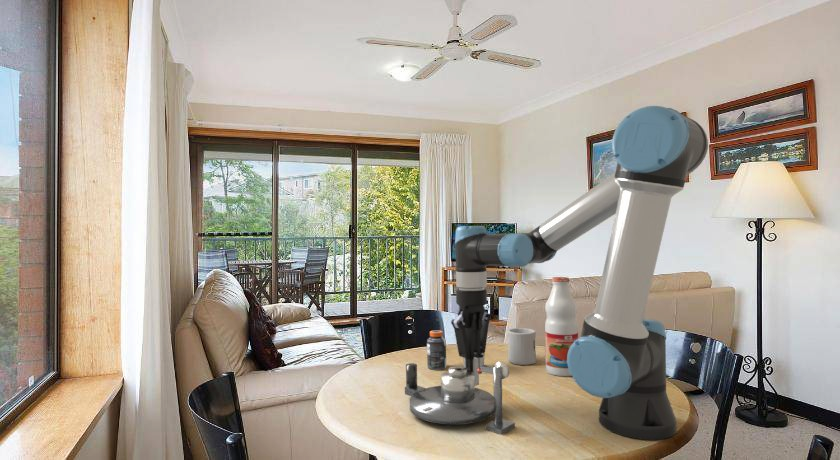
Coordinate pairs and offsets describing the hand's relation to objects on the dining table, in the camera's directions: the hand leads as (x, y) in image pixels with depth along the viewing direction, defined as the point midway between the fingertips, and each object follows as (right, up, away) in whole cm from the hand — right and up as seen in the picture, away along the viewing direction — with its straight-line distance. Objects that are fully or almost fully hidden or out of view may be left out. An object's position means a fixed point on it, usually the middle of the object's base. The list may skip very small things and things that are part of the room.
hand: (472, 383), depth 116 cm
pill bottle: (-8, -5, +30) cm, 31 cm away
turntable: (-7, -3, -4) cm, 9 cm away
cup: (+4, -5, +29) cm, 29 cm away
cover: (-4, -2, -4) cm, 6 cm away
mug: (+20, -5, +37) cm, 42 cm away
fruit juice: (+29, -4, +23) cm, 38 cm away
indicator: (+3, -5, -14) cm, 15 cm away
